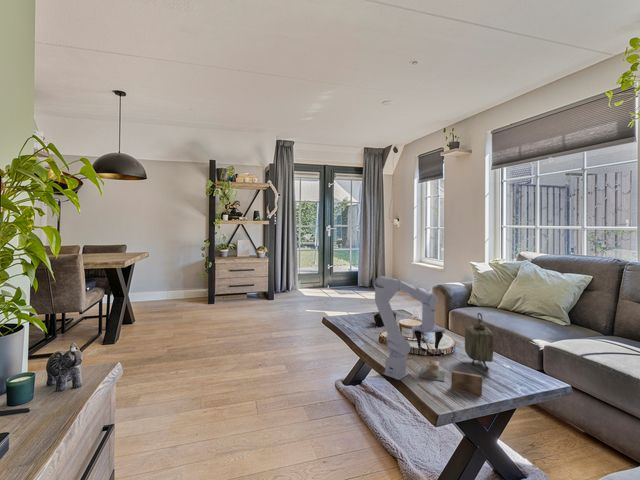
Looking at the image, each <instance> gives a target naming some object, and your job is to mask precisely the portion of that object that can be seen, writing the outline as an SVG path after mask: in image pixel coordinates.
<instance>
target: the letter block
mask: <svg viewBox="0 0 640 480" xmlns="http://www.w3.org/2000/svg"><path fill="white" fill-rule="evenodd" d="M425 363H426V365H425V366H426V367H425V368H426V375H428V376H433V377H438V375H439V371H440V361H437V360H430V359H427V360H426V362H425Z"/></svg>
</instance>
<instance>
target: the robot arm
mask: <svg viewBox="0 0 640 480" xmlns="http://www.w3.org/2000/svg"><path fill="white" fill-rule="evenodd" d="M373 288H374V302H375V305H376V307H377V310H378V313H380V315H381V318H382V321H383V323H384V328H385V331H386V333H387V334H386V336H385V339H386V348H387V349H388V352H389V355H388V357H387V358H386V360H385V364H384V365H385V367H384V369H385V370H384V372H383V375H385V376H387V377H390V378H393V379H395V380H398V381H400V380H402V379H404V378H405V377H407V376H408V375H409V374H411V372H410V371H407V356H408V355H409V354H410V351H411V345H410V343H409V342H408V341H407V339H406V337H405V336H404V335H403V334H402V333H401V331H400V328H399V325H398V322H397V319H396V320H395V317H394V314H393V312H394V311H393V309H392V307H391V304H390V301H391V300H392V298H393V297H394V296H395V295H396V293H397V292H399V291H403V292H405V293H407V294H409V296H410V297H411V299H414V300H416V301H419V302H420V303H421V304H422V308H421V309H422V310H421V317H422V318H421V325H419V326H417V325H416V326H411V332H413V333H414V335H415V338H416V343H417V347H418V348H419V349H420V348H421V343H422V342H421V340H422V339H421V338H422V334H421V333H434V337H435V338H434V343H435V348H436V349H438V345H439V346H440V342H441V340H442V338H443V337H444V334H446V329H445V328H444V327H439V326H437V327H436V310H437V305H438V304H439V303H440V302H439V300H440V299H439V298H438V296H437V294H435V293H434V292H430V291H429V290H428V289H425V288H423V287H422V286H421V285H415V286H412V285H410V284H408V283H406V282H404V281H403V280H401V279H396V278H392V277H389V276H384V275H379V276H378V277H376V279H375V281H374V283H373Z"/></svg>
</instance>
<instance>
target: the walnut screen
mask: <svg viewBox="0 0 640 480" xmlns="http://www.w3.org/2000/svg"><path fill="white" fill-rule="evenodd" d="M450 385H451V388H450V389H451V390H453V391H458V392H459V391H460V392H465V393H467V394H468V393H469V394H474V395H479V396H482V395H483V394H482V393H483V375H480V374H476V373H468V372H462V371H457V370H451V384H450Z"/></svg>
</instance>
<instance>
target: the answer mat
mask: <svg viewBox="0 0 640 480" xmlns="http://www.w3.org/2000/svg"><path fill="white" fill-rule="evenodd" d="M445 377H446V371H443V370H439V375H438V377H433V376H428V375H426V367H421V369H420V373H419V378H421V379H427V380H431V381H437V382H441V383H445Z"/></svg>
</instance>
